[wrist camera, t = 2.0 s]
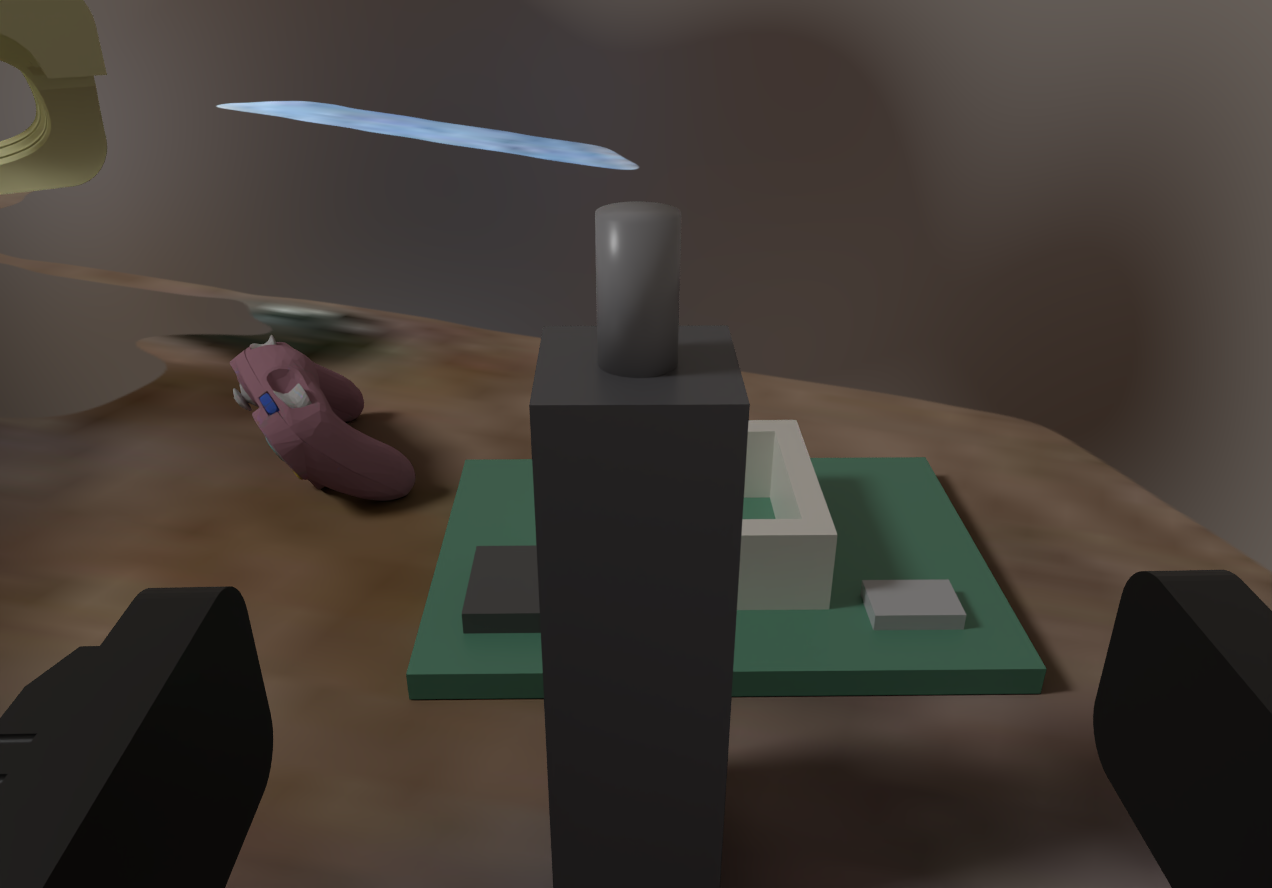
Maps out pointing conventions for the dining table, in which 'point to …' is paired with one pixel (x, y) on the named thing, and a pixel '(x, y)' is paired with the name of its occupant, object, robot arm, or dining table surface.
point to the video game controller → (317, 423)
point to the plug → (638, 567)
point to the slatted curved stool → (53, 94)
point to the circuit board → (755, 585)
